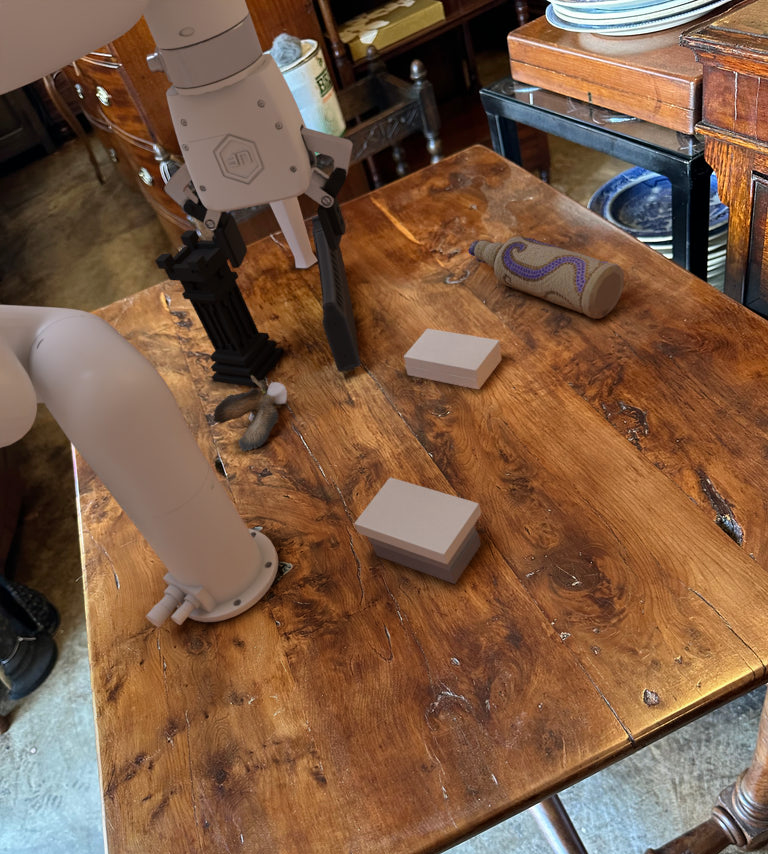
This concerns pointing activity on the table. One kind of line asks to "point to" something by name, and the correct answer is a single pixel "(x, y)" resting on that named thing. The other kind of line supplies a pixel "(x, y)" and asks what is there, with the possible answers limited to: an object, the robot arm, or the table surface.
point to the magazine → (336, 303)
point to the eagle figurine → (253, 411)
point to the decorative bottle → (554, 274)
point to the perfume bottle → (294, 231)
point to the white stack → (453, 358)
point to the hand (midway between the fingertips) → (287, 251)
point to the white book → (418, 519)
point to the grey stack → (431, 566)
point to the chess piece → (221, 311)
